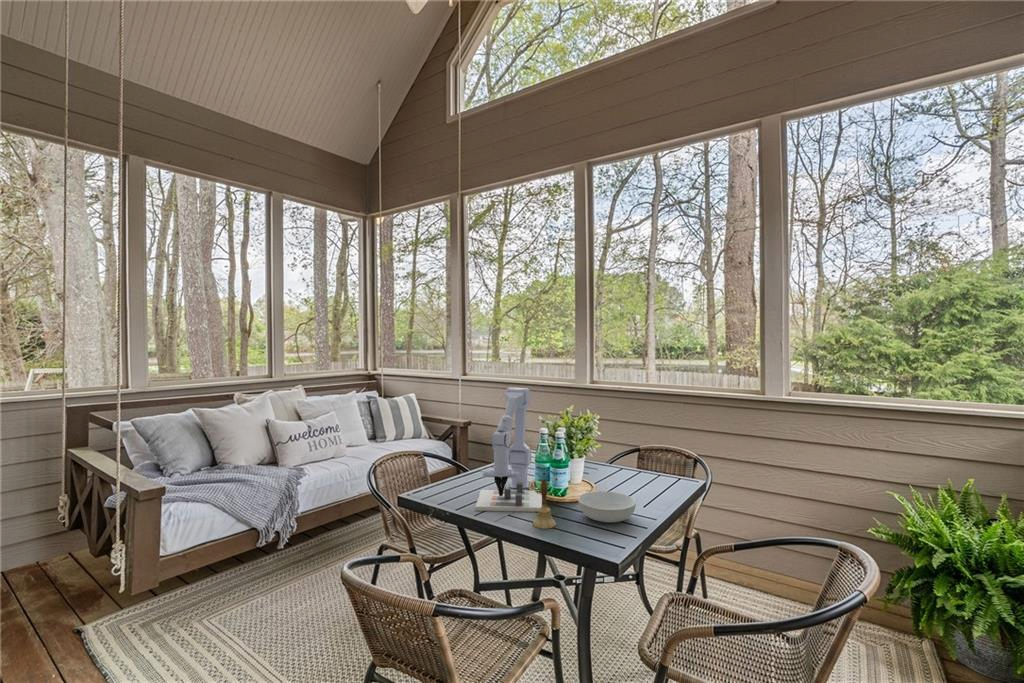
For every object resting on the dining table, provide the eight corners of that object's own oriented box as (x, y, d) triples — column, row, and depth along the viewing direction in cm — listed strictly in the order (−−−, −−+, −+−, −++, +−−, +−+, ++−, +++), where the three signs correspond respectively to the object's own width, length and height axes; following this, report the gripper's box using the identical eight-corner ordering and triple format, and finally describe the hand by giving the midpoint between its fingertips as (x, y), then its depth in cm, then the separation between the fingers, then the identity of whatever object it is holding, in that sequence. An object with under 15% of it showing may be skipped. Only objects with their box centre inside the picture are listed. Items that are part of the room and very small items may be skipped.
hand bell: (527, 524, 169) (527, 479, 169) (543, 518, 175) (543, 474, 175) (545, 531, 163) (545, 484, 163) (560, 524, 169) (560, 479, 169)
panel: (481, 493, 202) (481, 480, 202) (542, 494, 201) (542, 481, 201) (475, 510, 182) (475, 496, 182) (543, 511, 181) (543, 497, 181)
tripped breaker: (504, 495, 193) (504, 486, 193) (510, 495, 193) (510, 486, 193) (504, 498, 190) (504, 488, 190) (510, 498, 190) (510, 489, 190)
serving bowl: (646, 518, 175) (646, 499, 175) (614, 534, 160) (614, 514, 160) (599, 504, 190) (599, 486, 190) (566, 517, 175) (566, 499, 175)
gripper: (482, 463, 188) (482, 498, 188) (518, 464, 187) (518, 498, 187) (483, 459, 195) (483, 492, 195) (519, 459, 194) (519, 492, 194)
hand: (501, 495), depth 192 cm, fingers closed
